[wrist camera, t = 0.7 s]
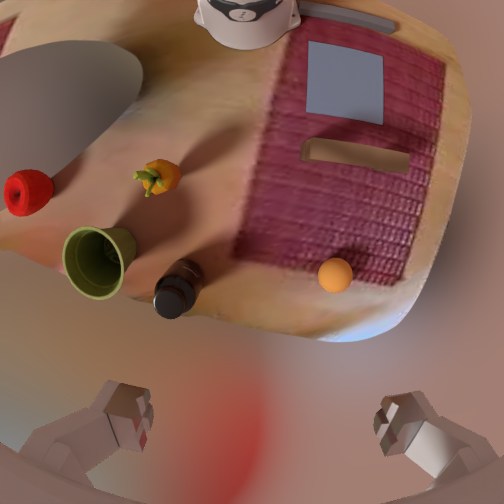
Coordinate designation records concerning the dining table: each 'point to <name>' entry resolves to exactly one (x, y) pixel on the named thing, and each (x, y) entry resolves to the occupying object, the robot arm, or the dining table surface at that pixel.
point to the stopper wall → (345, 16)
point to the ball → (335, 275)
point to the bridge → (354, 155)
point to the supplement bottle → (178, 289)
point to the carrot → (159, 176)
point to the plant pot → (98, 259)
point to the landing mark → (345, 83)
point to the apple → (27, 192)
